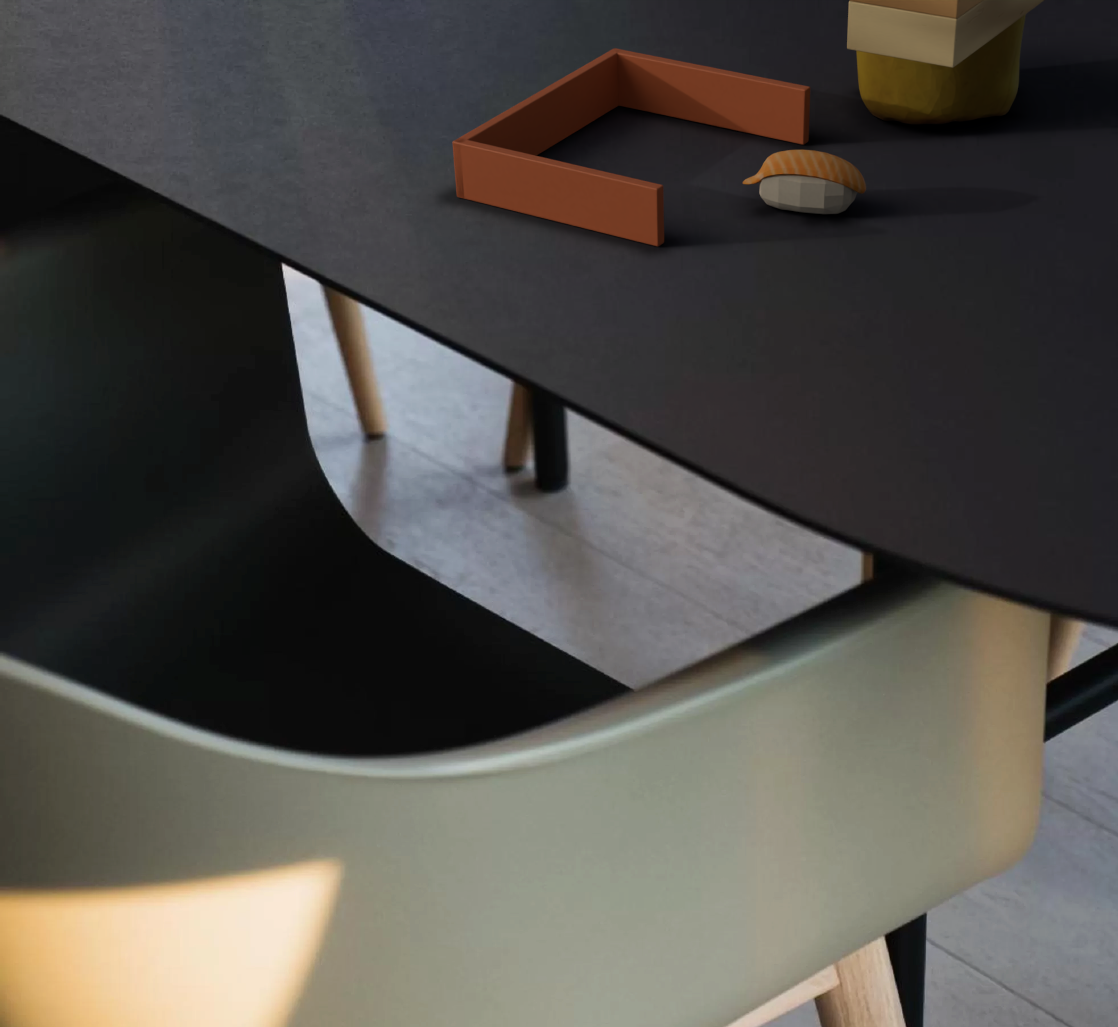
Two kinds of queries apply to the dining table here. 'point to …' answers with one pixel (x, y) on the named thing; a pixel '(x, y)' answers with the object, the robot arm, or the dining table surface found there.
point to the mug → (944, 83)
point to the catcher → (588, 93)
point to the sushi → (808, 182)
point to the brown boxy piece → (930, 27)
